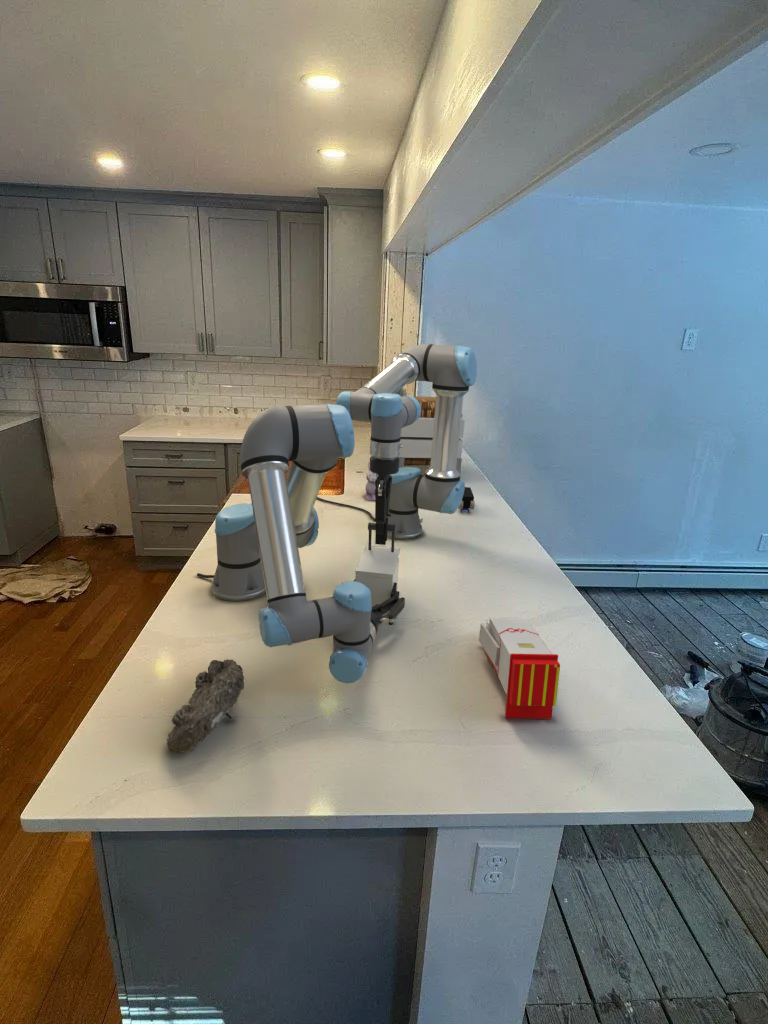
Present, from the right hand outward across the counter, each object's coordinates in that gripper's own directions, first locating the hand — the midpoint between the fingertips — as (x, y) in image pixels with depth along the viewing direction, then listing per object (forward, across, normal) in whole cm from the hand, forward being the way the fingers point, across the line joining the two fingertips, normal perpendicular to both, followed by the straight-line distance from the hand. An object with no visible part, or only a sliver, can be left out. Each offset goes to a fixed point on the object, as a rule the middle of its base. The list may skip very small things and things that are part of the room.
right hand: (381, 542), depth 151 cm
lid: (+4, -4, 0) cm, 6 cm away
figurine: (+17, +84, +15) cm, 87 cm away
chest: (+16, -4, 0) cm, 17 cm away
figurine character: (+17, +79, -22) cm, 84 cm away
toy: (+16, -30, -34) cm, 48 cm away
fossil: (+15, -55, +24) cm, 62 cm away
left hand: (+9, -7, 0) cm, 12 cm away
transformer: (+17, +127, 0) cm, 128 cm away
